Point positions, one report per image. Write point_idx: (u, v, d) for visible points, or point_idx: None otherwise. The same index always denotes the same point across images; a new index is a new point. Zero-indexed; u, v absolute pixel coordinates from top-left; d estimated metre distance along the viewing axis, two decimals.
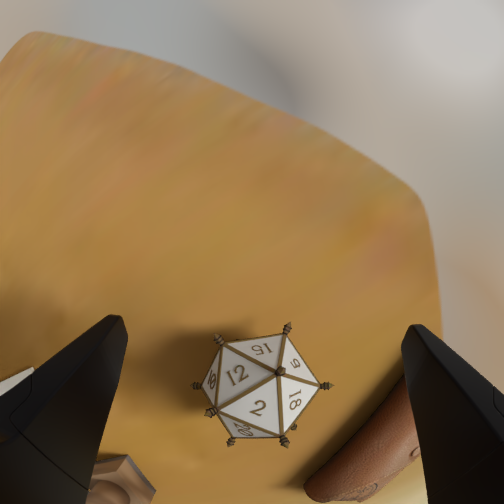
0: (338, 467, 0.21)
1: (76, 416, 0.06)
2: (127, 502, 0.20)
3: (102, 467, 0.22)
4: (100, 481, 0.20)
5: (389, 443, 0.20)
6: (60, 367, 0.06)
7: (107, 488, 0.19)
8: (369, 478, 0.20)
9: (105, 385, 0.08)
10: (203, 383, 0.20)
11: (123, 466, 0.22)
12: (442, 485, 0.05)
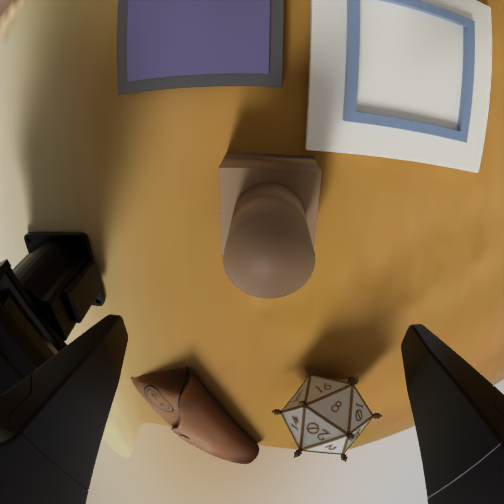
0: (208, 409, 0.27)
1: (76, 416, 0.06)
2: None
3: None
4: None
5: (213, 439, 0.29)
6: (60, 367, 0.06)
7: None
8: (187, 426, 0.27)
9: (105, 385, 0.08)
10: (354, 390, 0.23)
11: None
12: (442, 485, 0.05)
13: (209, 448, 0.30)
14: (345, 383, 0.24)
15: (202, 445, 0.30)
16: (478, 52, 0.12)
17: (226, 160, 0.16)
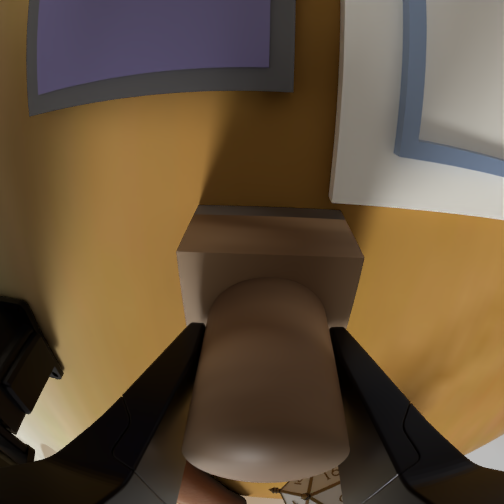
0: (196, 482, 0.21)
1: (174, 437, 0.06)
2: None
3: None
4: None
5: None
6: (157, 386, 0.06)
7: None
8: None
9: None
10: None
11: None
12: None
13: None
14: None
15: None
16: None
17: (194, 227, 0.09)
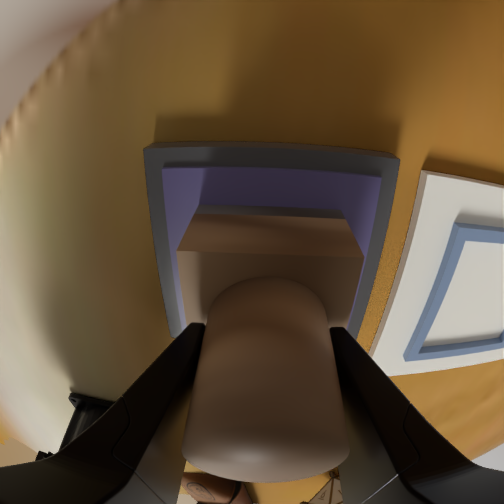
0: (244, 501, 0.28)
1: (174, 437, 0.06)
2: None
3: None
4: None
5: None
6: (157, 386, 0.06)
7: None
8: None
9: None
10: None
11: None
12: None
13: None
14: None
15: None
16: None
17: (194, 226, 0.09)
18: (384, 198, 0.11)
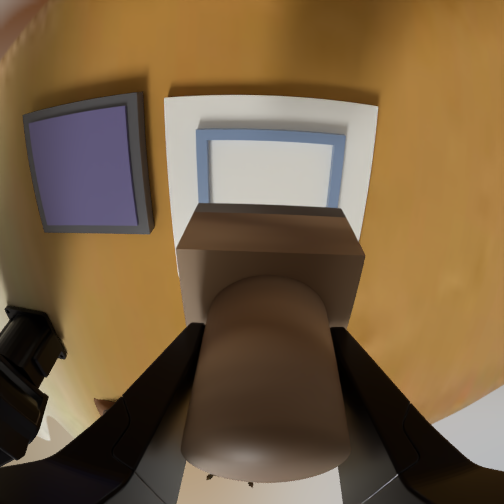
0: None
1: (174, 437, 0.06)
2: None
3: None
4: None
5: None
6: (157, 386, 0.06)
7: None
8: None
9: None
10: None
11: None
12: None
13: None
14: None
15: None
16: (351, 168, 0.17)
17: (194, 224, 0.09)
18: (132, 118, 0.16)
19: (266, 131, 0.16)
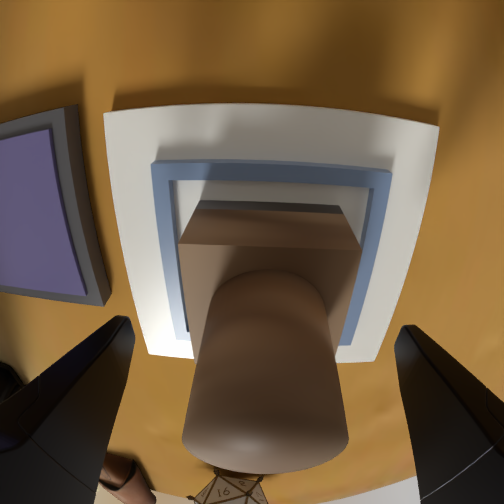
0: (139, 487, 0.27)
1: (84, 418, 0.06)
2: None
3: None
4: None
5: (132, 500, 0.28)
6: (68, 369, 0.06)
7: None
8: (118, 492, 0.26)
9: (113, 387, 0.08)
10: (250, 499, 0.22)
11: None
12: (434, 488, 0.05)
13: (123, 500, 0.29)
14: (242, 492, 0.22)
15: (118, 496, 0.29)
16: (394, 221, 0.11)
17: (195, 220, 0.10)
18: (60, 148, 0.10)
19: (264, 165, 0.10)
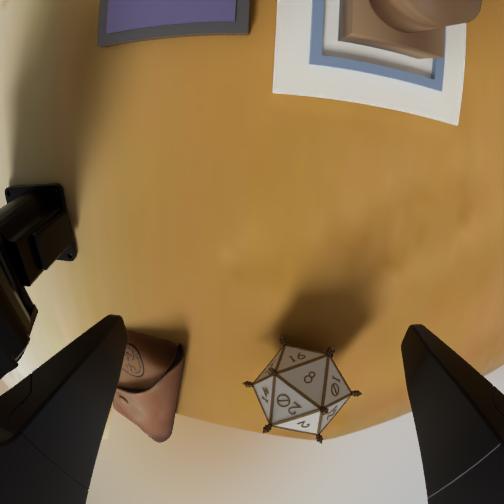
0: (175, 389, 0.27)
1: (76, 416, 0.06)
2: (391, 22, 0.10)
3: None
4: None
5: (156, 414, 0.28)
6: (60, 367, 0.06)
7: None
8: (146, 397, 0.26)
9: (105, 385, 0.08)
10: (331, 361, 0.22)
11: (426, 56, 0.12)
12: (442, 485, 0.05)
13: (141, 419, 0.30)
14: (320, 353, 0.23)
15: (136, 414, 0.29)
16: None
17: None
18: None
19: None
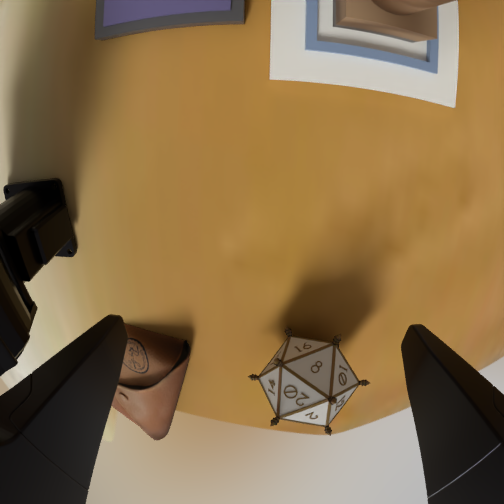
0: (179, 386, 0.27)
1: (76, 416, 0.06)
2: (384, 4, 0.10)
3: None
4: None
5: (157, 412, 0.28)
6: (60, 367, 0.06)
7: None
8: (149, 394, 0.26)
9: (105, 385, 0.08)
10: (337, 350, 0.22)
11: (420, 38, 0.12)
12: (442, 485, 0.05)
13: (141, 416, 0.29)
14: (326, 342, 0.23)
15: (136, 411, 0.29)
16: None
17: None
18: None
19: None
